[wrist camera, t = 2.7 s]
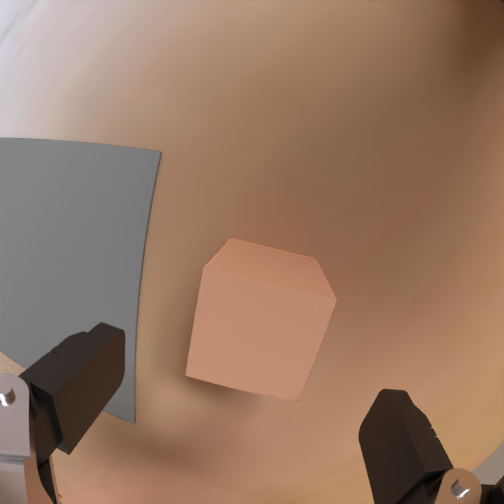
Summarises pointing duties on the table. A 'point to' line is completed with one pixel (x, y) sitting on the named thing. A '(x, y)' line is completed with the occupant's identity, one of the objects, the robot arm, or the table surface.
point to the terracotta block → (259, 319)
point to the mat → (72, 246)
